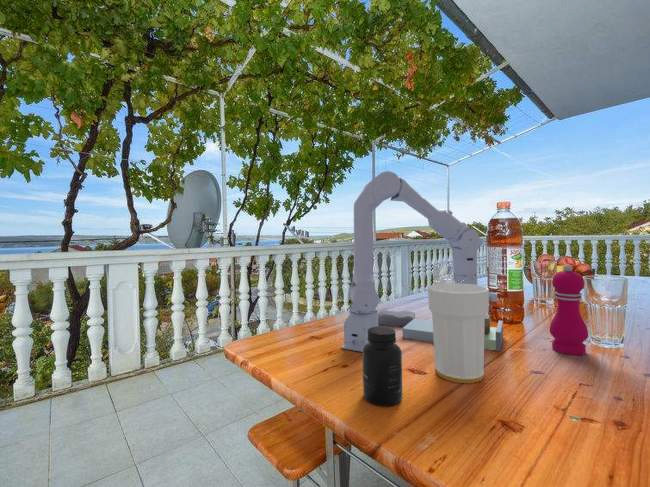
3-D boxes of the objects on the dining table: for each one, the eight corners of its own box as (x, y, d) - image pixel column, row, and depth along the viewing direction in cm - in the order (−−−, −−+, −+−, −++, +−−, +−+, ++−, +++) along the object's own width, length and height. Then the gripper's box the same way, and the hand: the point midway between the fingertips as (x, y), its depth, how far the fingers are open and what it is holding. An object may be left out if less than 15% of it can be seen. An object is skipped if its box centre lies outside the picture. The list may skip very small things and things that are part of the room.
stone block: (379, 323, 110) (375, 325, 100) (379, 309, 111) (376, 309, 101) (416, 326, 107) (415, 329, 97) (416, 311, 107) (416, 312, 98)
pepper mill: (548, 343, 81) (547, 262, 80) (585, 347, 77) (585, 263, 76) (550, 353, 75) (550, 265, 74) (591, 358, 71) (590, 266, 70)
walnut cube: (488, 334, 81) (488, 318, 81) (471, 332, 83) (471, 317, 83) (490, 330, 84) (489, 315, 84) (473, 328, 86) (473, 313, 86)
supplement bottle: (355, 398, 57) (353, 330, 57) (378, 384, 62) (376, 322, 62) (388, 412, 53) (386, 338, 52) (410, 396, 57) (408, 328, 57)
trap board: (402, 337, 89) (402, 321, 89) (414, 326, 98) (413, 311, 98) (500, 351, 76) (500, 332, 76) (503, 337, 86) (503, 320, 86)
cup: (494, 369, 67) (493, 285, 67) (485, 392, 58) (484, 294, 57) (438, 358, 74) (436, 281, 73) (422, 377, 64) (420, 290, 64)
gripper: (497, 273, 85) (498, 325, 85) (439, 271, 92) (440, 319, 93) (495, 277, 78) (496, 333, 79) (433, 275, 86) (434, 326, 87)
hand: (466, 326), depth 85 cm, fingers closed
